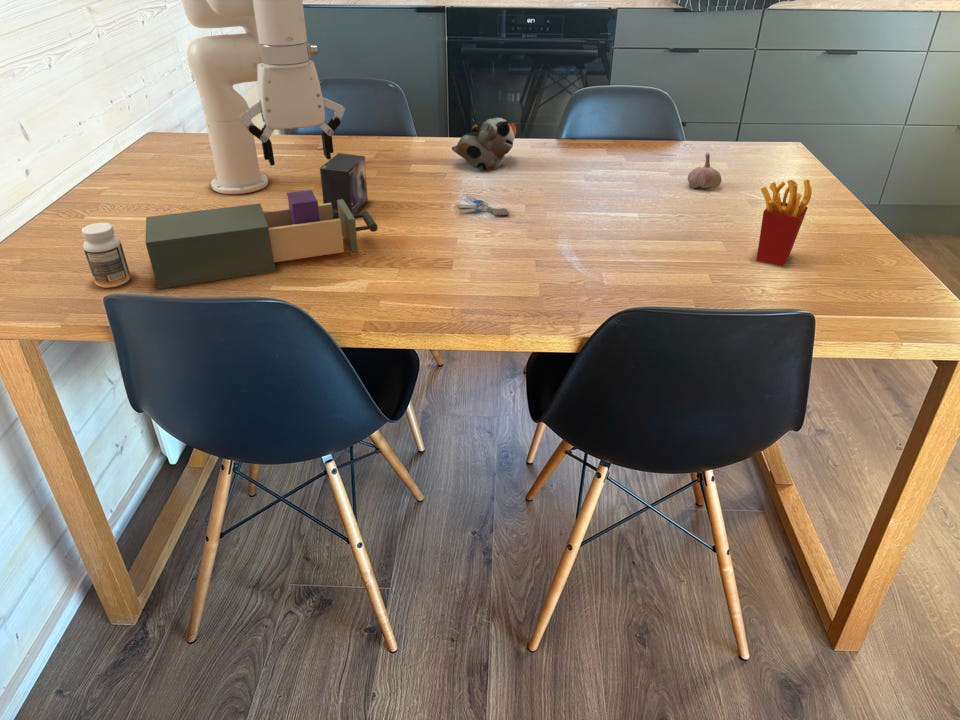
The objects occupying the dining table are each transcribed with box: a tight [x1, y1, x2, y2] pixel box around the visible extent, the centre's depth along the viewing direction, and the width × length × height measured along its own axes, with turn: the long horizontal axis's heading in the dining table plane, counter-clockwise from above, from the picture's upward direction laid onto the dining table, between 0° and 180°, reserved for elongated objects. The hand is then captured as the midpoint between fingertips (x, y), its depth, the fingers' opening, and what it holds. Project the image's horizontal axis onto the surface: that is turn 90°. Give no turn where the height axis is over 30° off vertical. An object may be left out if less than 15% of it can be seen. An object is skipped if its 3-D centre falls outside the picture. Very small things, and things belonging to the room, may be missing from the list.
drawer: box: [263, 199, 379, 263], centre depth 129 cm, size 23×10×7 cm, turn 111°
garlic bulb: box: [687, 151, 723, 189], centre depth 161 cm, size 8×7×8 cm
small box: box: [319, 152, 369, 219], centre depth 147 cm, size 11×6×10 cm, turn 168°
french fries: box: [756, 179, 812, 268], centre depth 128 cm, size 9×8×15 cm
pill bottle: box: [81, 222, 131, 288], centre depth 118 cm, size 6×6×10 cm
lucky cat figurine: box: [451, 117, 517, 172], centre depth 172 cm, size 15×12×14 cm
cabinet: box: [144, 203, 276, 290], centre depth 124 cm, size 20×12×9 cm, turn 111°
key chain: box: [458, 194, 510, 216], centre depth 149 cm, size 14×8×1 cm, turn 47°
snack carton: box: [286, 189, 320, 225], centre depth 128 cm, size 6×4×9 cm
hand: (299, 160), depth 122 cm, fingers open, 9 cm apart
